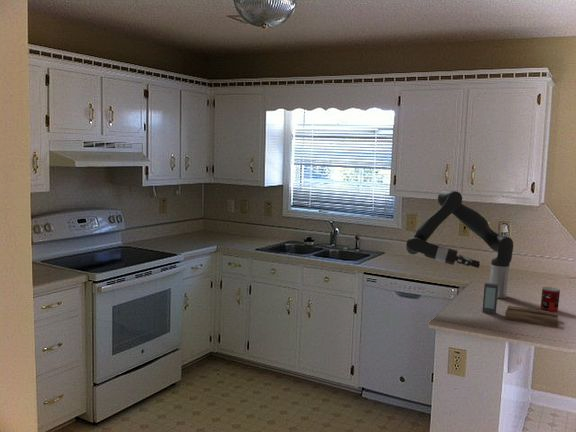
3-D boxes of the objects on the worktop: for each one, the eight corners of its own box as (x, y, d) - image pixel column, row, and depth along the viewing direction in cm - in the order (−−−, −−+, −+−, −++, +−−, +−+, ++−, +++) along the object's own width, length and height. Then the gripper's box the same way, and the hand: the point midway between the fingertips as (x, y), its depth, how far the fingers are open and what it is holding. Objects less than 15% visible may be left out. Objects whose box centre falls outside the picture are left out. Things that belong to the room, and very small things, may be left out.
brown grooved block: (507, 312, 279) (508, 305, 279) (557, 320, 270) (558, 312, 269) (505, 319, 268) (505, 311, 267) (556, 327, 258) (557, 319, 258)
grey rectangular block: (483, 310, 281) (485, 282, 279) (496, 312, 278) (498, 284, 277) (482, 312, 278) (484, 283, 276) (495, 314, 275) (497, 285, 274)
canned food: (537, 307, 292) (540, 286, 290) (553, 308, 291) (555, 287, 290) (544, 311, 284) (546, 290, 283) (560, 312, 284) (562, 290, 282)
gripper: (447, 249, 276) (481, 259, 271) (448, 246, 290) (481, 256, 285) (443, 264, 277) (477, 274, 272) (444, 260, 291) (477, 270, 286)
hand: (479, 264), depth 279 cm, fingers open, 8 cm apart
